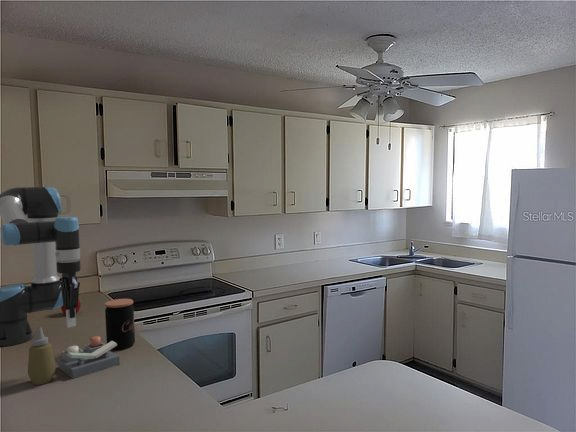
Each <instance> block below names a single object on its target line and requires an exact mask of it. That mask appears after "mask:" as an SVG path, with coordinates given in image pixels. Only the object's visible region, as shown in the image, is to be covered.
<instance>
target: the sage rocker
mask: <svg viewBox="0 0 576 432" xmlns="http://www.w3.org/2000/svg"><path fill="white" fill-rule="evenodd" d="M67 356H69V357H70V358H79V359H80V360H82V361H83V360H84V358H87V359H94V358H95V355H93V354H91V353H70V352H68V355H67Z"/></svg>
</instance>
